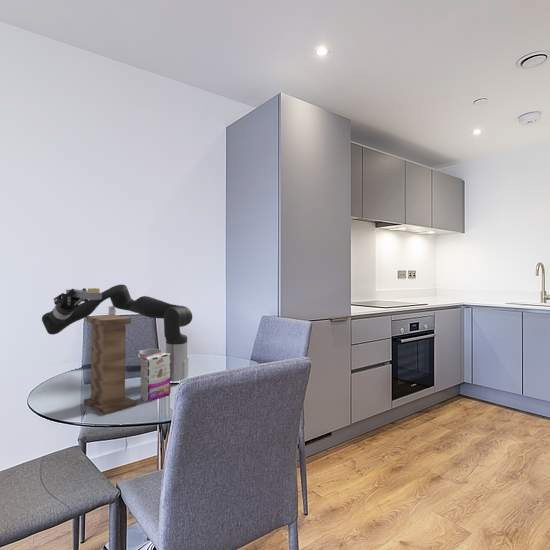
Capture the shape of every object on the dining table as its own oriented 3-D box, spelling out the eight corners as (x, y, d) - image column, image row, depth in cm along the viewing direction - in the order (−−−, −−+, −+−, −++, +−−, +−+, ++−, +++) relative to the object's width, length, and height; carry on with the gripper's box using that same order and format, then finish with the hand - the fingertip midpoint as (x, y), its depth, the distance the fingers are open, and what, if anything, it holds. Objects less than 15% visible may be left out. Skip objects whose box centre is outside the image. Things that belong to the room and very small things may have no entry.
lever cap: (66, 295, 162) (66, 285, 162) (75, 295, 165) (76, 285, 165) (91, 299, 146) (91, 289, 146) (101, 299, 149) (101, 288, 149)
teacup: (166, 366, 195) (166, 350, 195) (148, 370, 186) (149, 354, 186) (147, 362, 203) (148, 347, 202) (130, 366, 194) (130, 350, 193)
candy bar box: (162, 391, 156) (162, 351, 155) (170, 394, 153) (171, 353, 153) (139, 399, 146) (139, 357, 146) (148, 402, 144) (148, 359, 143)
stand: (83, 402, 142) (83, 316, 141) (114, 394, 151) (115, 314, 151) (104, 414, 131) (105, 321, 130) (136, 405, 140) (137, 318, 139)
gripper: (45, 301, 164) (59, 282, 154) (80, 299, 174) (94, 281, 164) (48, 317, 161) (62, 299, 151) (83, 314, 172) (98, 297, 162)
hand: (79, 290), depth 158 cm, fingers closed on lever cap, 4 cm apart
